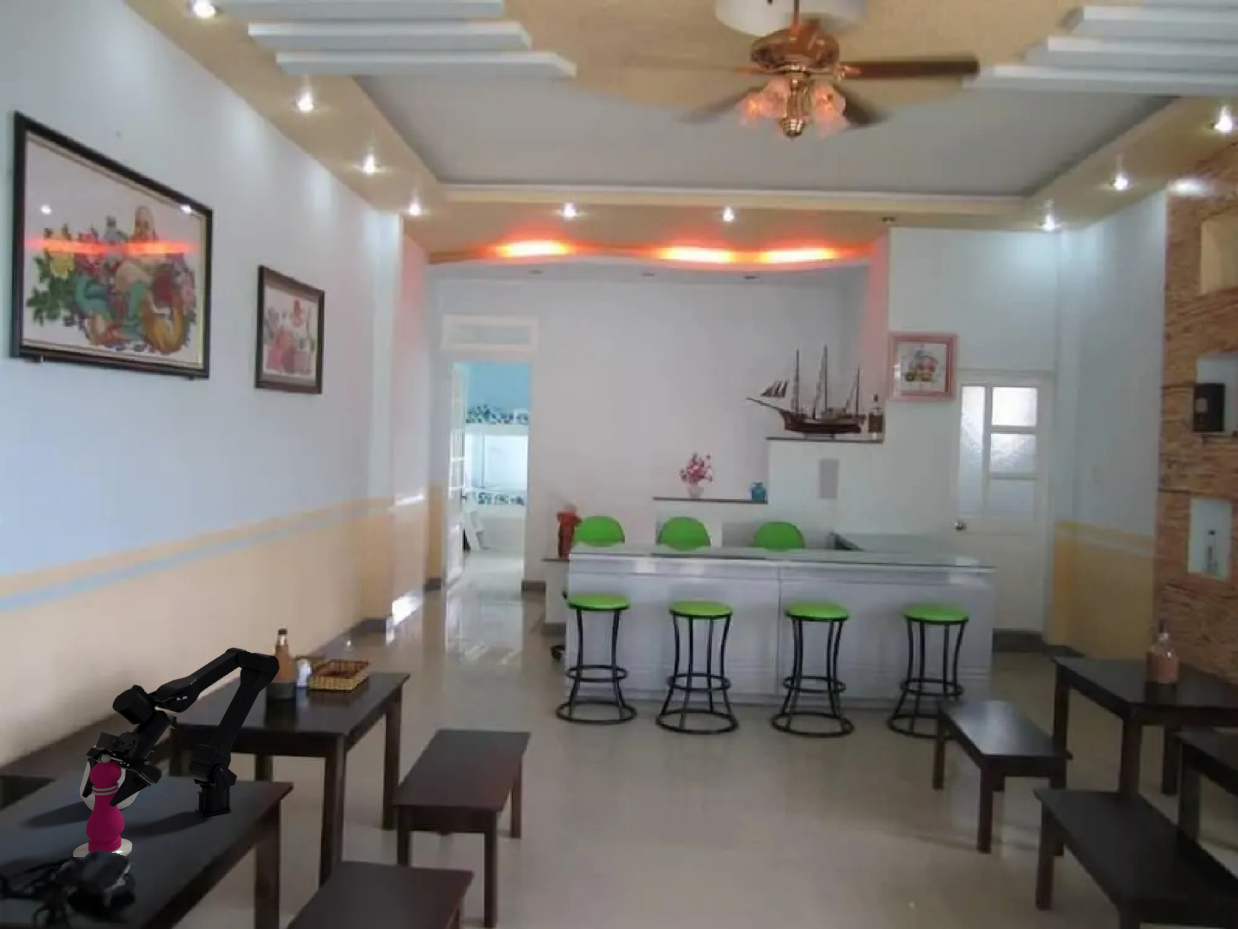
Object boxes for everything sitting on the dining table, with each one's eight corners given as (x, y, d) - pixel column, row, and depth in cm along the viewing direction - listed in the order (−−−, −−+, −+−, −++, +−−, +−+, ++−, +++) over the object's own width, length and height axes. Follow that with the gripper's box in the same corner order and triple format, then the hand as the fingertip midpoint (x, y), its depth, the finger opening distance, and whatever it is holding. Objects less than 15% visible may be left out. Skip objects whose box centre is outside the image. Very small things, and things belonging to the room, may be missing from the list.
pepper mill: (91, 858, 202) (92, 762, 201) (81, 847, 207) (82, 753, 206) (128, 849, 207) (129, 755, 206) (117, 838, 212) (119, 747, 211)
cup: (136, 812, 229) (137, 754, 228) (72, 817, 225) (73, 757, 224) (146, 792, 241) (147, 736, 241) (86, 796, 238) (87, 739, 237)
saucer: (127, 838, 214) (127, 834, 214) (135, 857, 205) (135, 852, 205) (70, 849, 208) (70, 845, 208) (75, 869, 199) (76, 864, 199)
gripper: (94, 709, 213) (44, 774, 204) (150, 723, 205) (100, 791, 195) (127, 736, 221) (79, 799, 211) (182, 750, 212) (135, 817, 202)
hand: (97, 801), depth 205 cm, fingers open, 9 cm apart
